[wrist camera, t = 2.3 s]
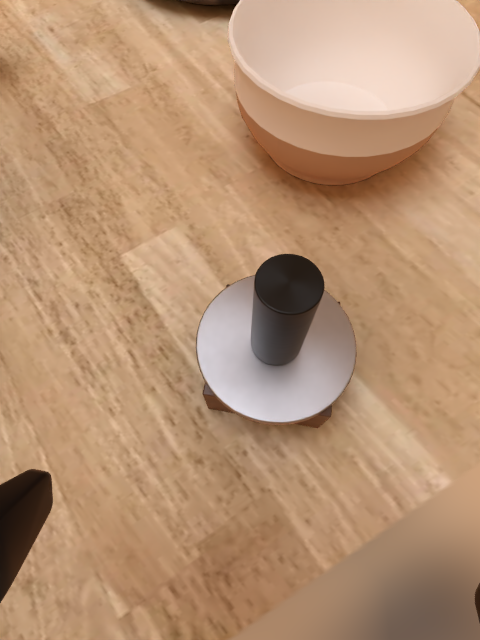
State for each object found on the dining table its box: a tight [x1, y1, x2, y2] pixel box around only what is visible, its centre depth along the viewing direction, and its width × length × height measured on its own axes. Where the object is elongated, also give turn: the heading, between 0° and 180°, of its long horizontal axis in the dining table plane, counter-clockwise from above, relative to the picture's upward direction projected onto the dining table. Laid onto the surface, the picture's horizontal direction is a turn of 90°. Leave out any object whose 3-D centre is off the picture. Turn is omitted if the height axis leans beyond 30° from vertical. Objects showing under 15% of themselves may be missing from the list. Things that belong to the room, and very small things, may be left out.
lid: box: [196, 254, 356, 425], centre depth 17 cm, size 8×8×7 cm
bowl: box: [228, 0, 480, 185], centre depth 28 cm, size 16×16×8 cm
